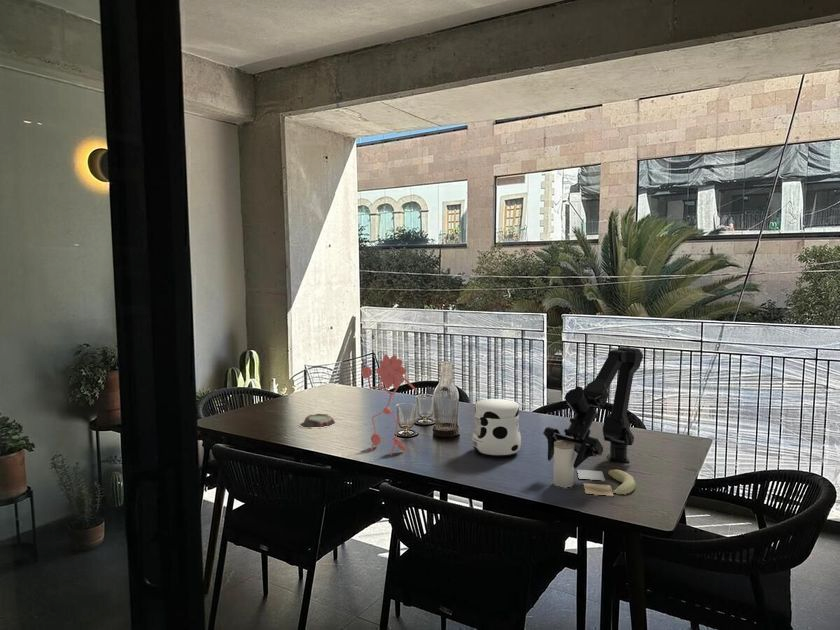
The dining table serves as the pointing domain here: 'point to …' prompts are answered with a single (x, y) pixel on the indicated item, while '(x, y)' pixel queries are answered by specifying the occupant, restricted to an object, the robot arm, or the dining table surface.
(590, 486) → the cork coaster
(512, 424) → the milk container
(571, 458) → the tumbler
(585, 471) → the grey square tile
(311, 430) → the dining table surface
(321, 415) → the quiche
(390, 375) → the pink blossom sprig
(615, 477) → the fruit
